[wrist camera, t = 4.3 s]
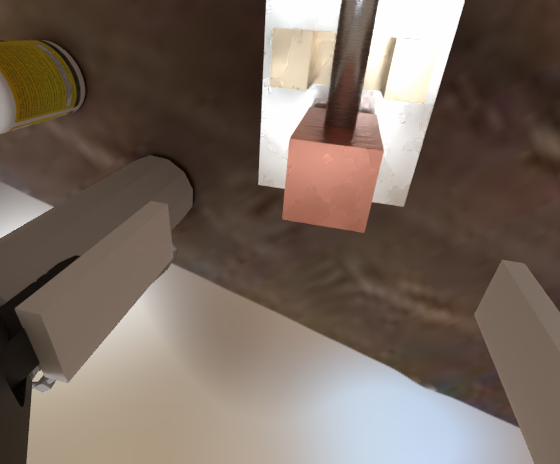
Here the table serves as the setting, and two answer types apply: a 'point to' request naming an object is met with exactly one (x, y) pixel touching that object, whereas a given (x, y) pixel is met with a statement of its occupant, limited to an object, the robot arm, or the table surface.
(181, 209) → the water bottle
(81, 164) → the table surface
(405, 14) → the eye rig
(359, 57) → the mallet
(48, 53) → the pill bottle
